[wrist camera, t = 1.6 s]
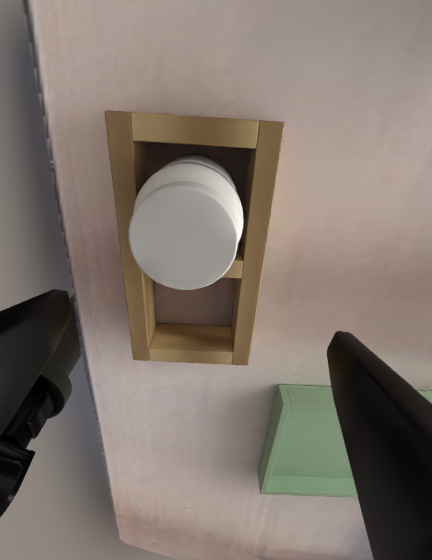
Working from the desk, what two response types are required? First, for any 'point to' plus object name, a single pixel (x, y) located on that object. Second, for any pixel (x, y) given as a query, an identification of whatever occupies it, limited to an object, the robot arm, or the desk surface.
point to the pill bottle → (187, 223)
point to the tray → (306, 445)
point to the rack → (251, 250)
